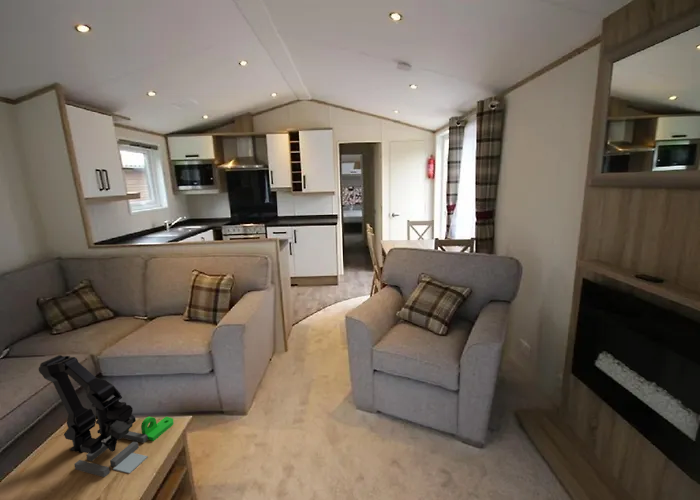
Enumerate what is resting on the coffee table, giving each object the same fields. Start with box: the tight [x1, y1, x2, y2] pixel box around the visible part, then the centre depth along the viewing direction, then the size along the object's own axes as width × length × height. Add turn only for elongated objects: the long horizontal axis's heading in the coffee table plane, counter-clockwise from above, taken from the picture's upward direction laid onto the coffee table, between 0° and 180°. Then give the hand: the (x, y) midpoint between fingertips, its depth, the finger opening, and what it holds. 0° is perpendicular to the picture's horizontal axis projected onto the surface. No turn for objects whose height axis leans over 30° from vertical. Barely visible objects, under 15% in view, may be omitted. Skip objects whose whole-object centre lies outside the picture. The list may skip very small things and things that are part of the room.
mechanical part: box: [140, 416, 174, 442], centre depth 146 cm, size 12×6×8 cm, turn 161°
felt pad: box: [112, 452, 149, 475], centre depth 129 cm, size 8×8×1 cm
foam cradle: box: [73, 430, 149, 478], centre depth 134 cm, size 14×19×2 cm
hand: (113, 451), depth 134 cm, fingers closed
